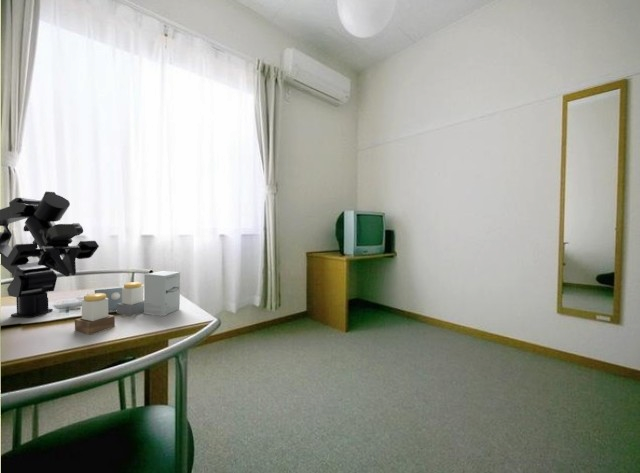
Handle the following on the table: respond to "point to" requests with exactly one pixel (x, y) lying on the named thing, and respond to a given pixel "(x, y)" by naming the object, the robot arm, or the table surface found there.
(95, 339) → the table surface
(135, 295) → the yellow topped white block
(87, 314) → the lidded white jar
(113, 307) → the pattern card
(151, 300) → the supplement box
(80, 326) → the walnut collar
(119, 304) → the grey collar
